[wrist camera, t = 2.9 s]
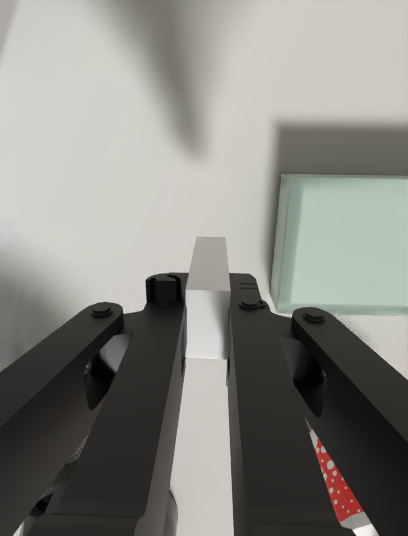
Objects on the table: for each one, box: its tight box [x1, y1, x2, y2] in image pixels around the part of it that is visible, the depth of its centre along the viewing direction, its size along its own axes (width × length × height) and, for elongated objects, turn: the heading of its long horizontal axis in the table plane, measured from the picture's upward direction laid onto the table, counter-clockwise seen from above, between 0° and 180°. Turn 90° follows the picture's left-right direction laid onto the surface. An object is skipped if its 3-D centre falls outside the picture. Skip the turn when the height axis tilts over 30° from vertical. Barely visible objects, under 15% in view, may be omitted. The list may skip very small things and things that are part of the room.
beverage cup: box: [310, 429, 379, 536], centre depth 23 cm, size 6×6×14 cm
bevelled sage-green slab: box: [270, 173, 408, 316], centre depth 22 cm, size 14×9×3 cm, turn 89°
